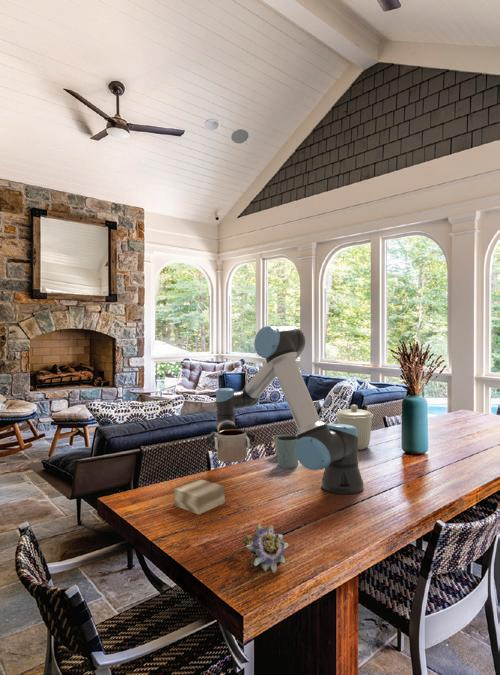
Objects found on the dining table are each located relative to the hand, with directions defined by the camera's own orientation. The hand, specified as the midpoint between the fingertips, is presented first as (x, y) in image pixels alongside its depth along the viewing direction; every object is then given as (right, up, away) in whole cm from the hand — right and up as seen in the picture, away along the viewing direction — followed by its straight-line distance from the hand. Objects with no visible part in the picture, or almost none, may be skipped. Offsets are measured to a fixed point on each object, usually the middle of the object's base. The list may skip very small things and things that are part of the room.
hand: (232, 444), depth 156 cm
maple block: (-11, -19, -6) cm, 23 cm away
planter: (0, -6, +4) cm, 8 cm away
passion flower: (+10, -19, -45) cm, 50 cm away
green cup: (+23, -18, +35) cm, 46 cm away
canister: (+58, -16, +61) cm, 85 cm away
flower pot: (+21, -17, +50) cm, 57 cm away
